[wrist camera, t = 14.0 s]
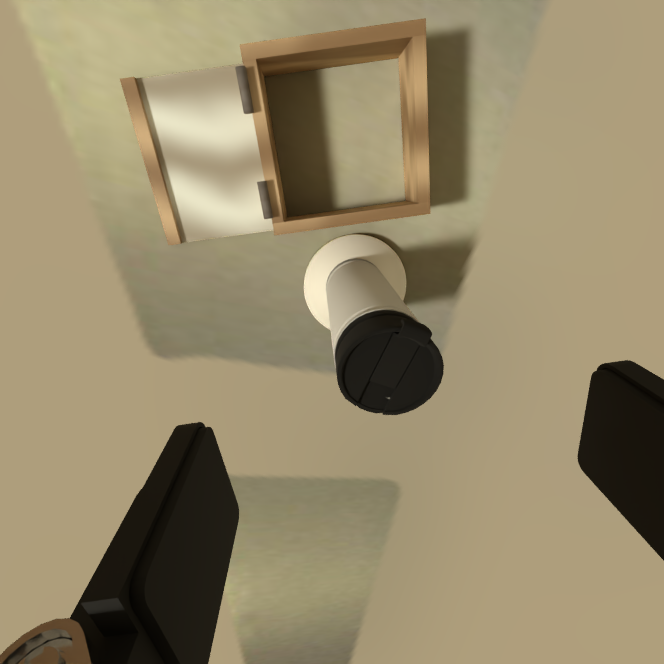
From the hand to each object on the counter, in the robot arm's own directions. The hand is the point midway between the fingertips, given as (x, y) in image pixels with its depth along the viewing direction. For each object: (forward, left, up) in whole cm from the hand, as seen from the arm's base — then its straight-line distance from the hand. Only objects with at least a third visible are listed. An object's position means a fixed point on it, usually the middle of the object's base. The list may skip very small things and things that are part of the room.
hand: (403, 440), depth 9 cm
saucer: (+5, +2, -31) cm, 32 cm away
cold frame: (-9, -4, -31) cm, 33 cm away
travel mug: (+4, +2, -31) cm, 31 cm away
